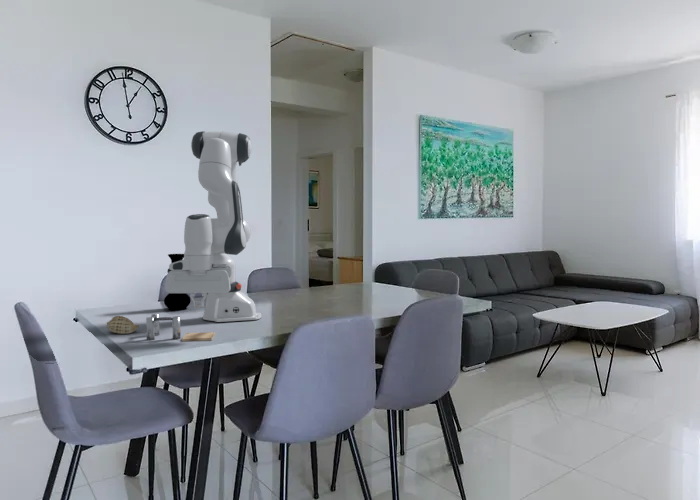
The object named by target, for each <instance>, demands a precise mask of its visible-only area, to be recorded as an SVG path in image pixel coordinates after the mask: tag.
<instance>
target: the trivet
mask: <svg viewBox="0 0 700 500" xmlns="http://www.w3.org/2000/svg"><path fill="white" fill-rule="evenodd" d="M215 335H216V332H212V331H211V332H208V331H207V332H187V333H185V335H184V336H183V337H181V338H182V339H181V341H182V342H198V341H199V342H200V341H213V338H214V337H215Z"/></svg>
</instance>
